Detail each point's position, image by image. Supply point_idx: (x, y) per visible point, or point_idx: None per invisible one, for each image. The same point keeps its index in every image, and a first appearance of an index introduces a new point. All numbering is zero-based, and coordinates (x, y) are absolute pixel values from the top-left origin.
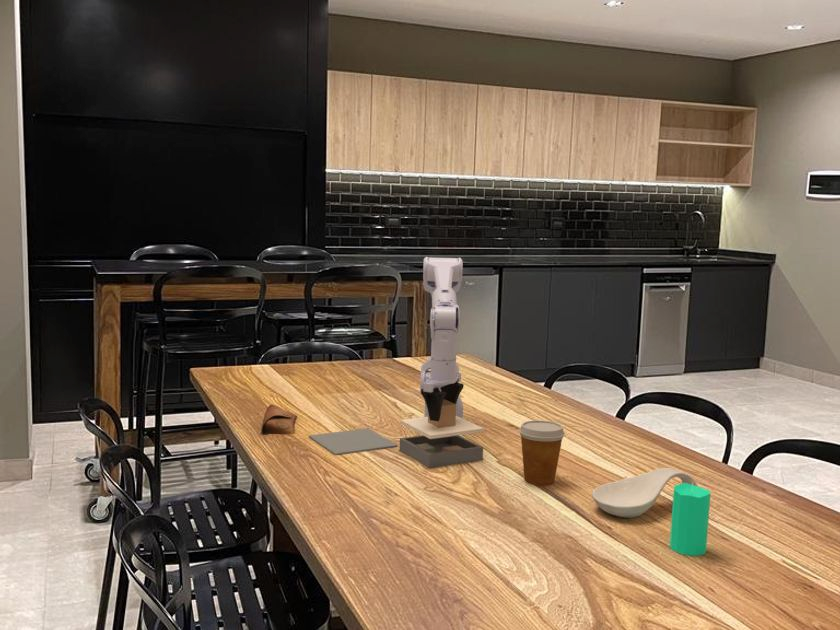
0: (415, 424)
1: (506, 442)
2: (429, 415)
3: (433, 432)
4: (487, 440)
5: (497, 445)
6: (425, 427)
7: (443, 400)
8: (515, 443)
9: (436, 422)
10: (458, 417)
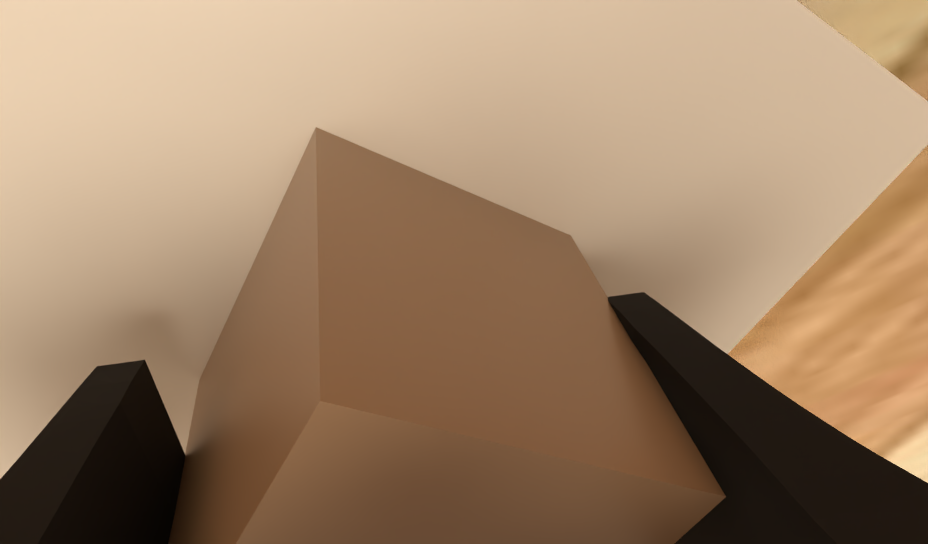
0: (19, 32)
1: (876, 293)
2: (53, 428)
3: None
4: (896, 188)
5: (795, 289)
6: (43, 264)
7: (622, 529)
8: (867, 335)
9: (213, 376)
10: (784, 278)
